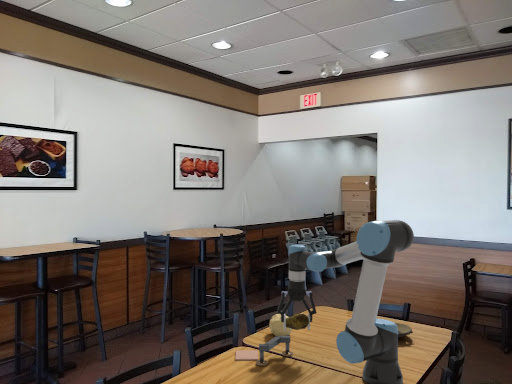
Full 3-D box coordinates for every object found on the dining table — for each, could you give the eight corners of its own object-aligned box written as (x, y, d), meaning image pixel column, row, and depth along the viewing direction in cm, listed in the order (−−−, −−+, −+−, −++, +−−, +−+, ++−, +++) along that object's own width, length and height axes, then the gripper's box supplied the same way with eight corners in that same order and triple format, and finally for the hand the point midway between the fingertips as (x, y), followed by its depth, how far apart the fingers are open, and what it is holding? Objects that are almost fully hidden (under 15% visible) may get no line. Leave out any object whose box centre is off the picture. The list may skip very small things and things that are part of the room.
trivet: (258, 360, 181) (258, 358, 181) (235, 360, 181) (235, 358, 181) (257, 351, 191) (257, 350, 191) (236, 351, 191) (236, 350, 191)
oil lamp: (387, 347, 196) (386, 331, 196) (349, 329, 224) (349, 314, 224) (423, 341, 205) (423, 325, 205) (382, 324, 232) (382, 310, 232)
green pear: (296, 324, 193) (296, 307, 193) (312, 333, 181) (312, 315, 181) (281, 327, 189) (281, 310, 189) (296, 336, 178) (295, 317, 178)
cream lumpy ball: (269, 330, 221) (269, 310, 221) (292, 331, 220) (292, 311, 220) (268, 338, 209) (268, 316, 209) (292, 339, 208) (292, 317, 208)
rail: (295, 354, 187) (295, 336, 187) (262, 367, 173) (262, 348, 173) (284, 350, 192) (284, 333, 192) (251, 362, 178) (251, 343, 178)
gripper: (320, 277, 189) (320, 326, 189) (271, 277, 188) (270, 326, 188) (323, 281, 182) (323, 331, 182) (272, 281, 181) (271, 332, 181)
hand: (296, 329), depth 185 cm, fingers closed on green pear, 10 cm apart
